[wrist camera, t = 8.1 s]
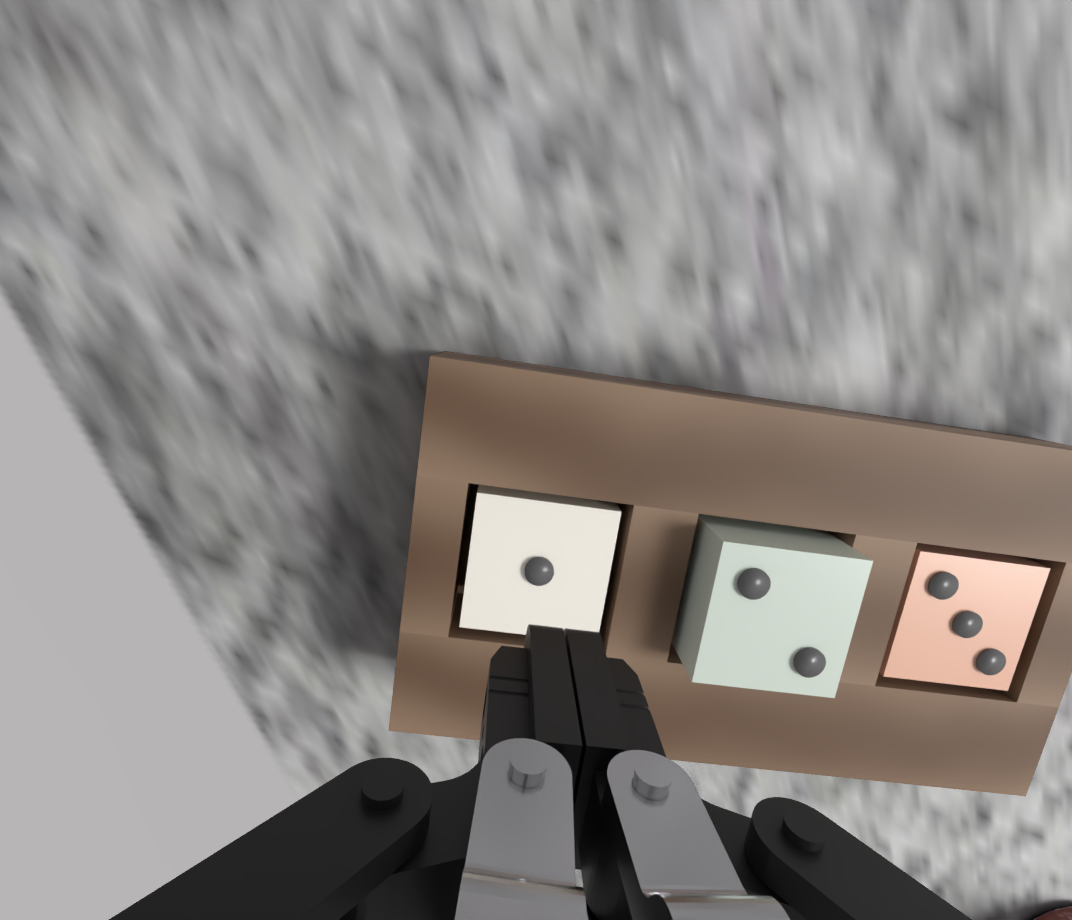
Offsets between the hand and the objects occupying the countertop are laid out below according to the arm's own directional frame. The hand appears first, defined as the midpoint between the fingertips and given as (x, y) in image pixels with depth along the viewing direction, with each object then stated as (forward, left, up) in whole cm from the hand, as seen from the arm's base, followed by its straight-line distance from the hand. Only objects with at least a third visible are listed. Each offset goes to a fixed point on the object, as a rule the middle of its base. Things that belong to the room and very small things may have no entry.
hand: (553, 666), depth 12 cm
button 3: (0, +14, -9) cm, 17 cm away
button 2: (0, +7, -7) cm, 10 cm away
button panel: (0, +7, -10) cm, 12 cm away
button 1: (0, 0, -9) cm, 9 cm away
